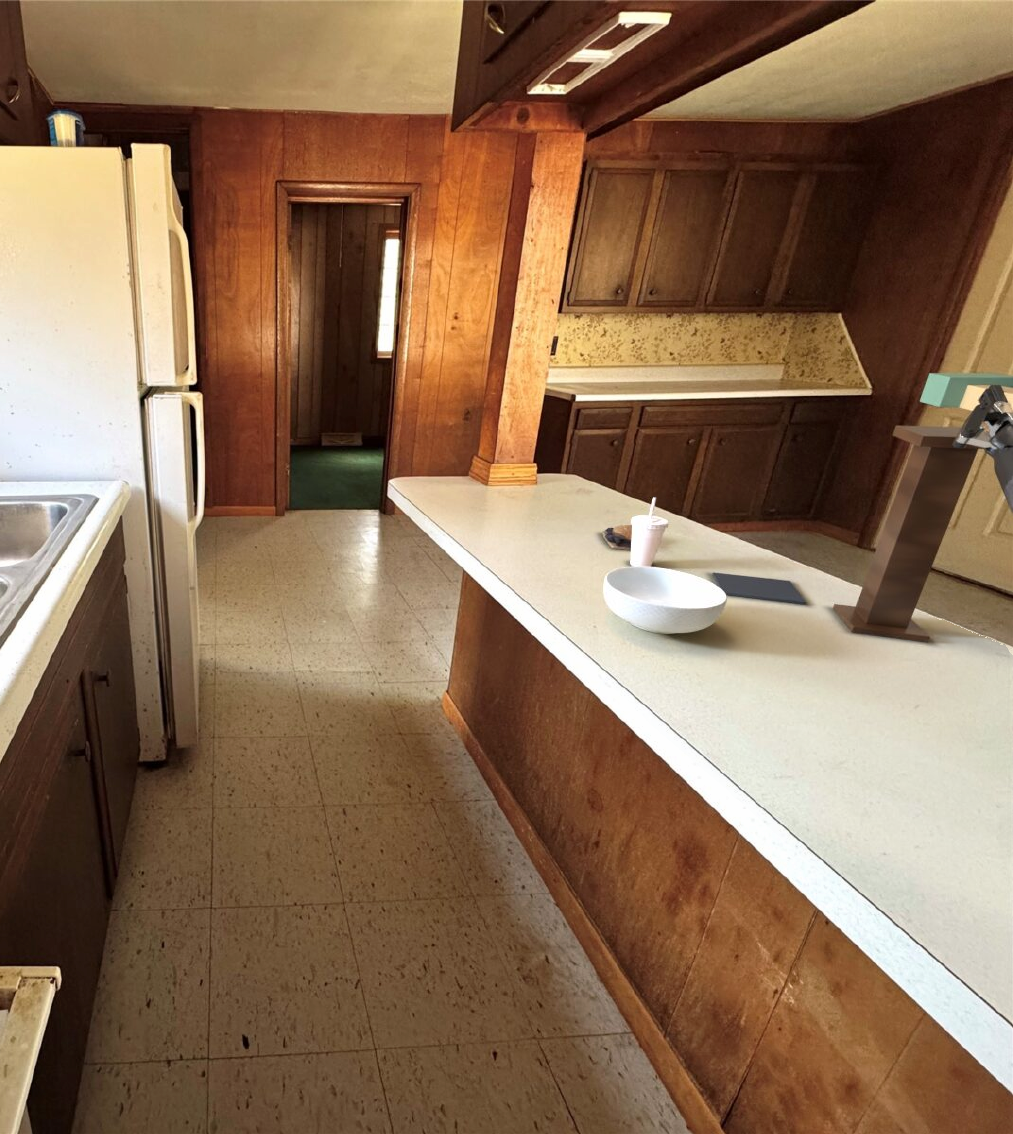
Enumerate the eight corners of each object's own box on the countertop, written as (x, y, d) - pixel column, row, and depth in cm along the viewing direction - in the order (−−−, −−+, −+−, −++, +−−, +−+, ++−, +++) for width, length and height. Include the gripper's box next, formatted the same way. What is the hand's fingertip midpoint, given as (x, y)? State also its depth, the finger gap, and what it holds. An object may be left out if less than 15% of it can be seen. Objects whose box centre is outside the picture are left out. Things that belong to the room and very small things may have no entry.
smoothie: (659, 562, 128) (674, 496, 123) (658, 573, 123) (673, 504, 118) (623, 557, 131) (636, 492, 126) (621, 567, 126) (634, 500, 121)
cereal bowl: (627, 648, 96) (636, 607, 94) (581, 602, 112) (587, 566, 109) (741, 647, 95) (753, 606, 93) (678, 601, 111) (687, 564, 108)
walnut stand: (902, 617, 102) (977, 427, 91) (928, 642, 95) (1013, 438, 83) (832, 609, 106) (895, 425, 95) (851, 632, 99) (923, 435, 87)
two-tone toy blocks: (985, 402, 88) (996, 373, 87) (1068, 422, 73) (1084, 387, 72) (919, 401, 91) (929, 373, 90) (986, 420, 76) (999, 386, 75)
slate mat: (789, 583, 116) (790, 580, 116) (805, 604, 108) (806, 602, 108) (712, 574, 121) (712, 572, 121) (722, 594, 113) (722, 592, 113)
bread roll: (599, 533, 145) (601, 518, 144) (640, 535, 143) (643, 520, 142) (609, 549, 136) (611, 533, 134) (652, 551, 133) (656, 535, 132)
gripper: (950, 504, 75) (919, 413, 84) (1123, 515, 69) (1069, 416, 78) (989, 457, 69) (951, 364, 78) (1181, 465, 63) (1116, 364, 72)
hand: (1011, 391), depth 78 cm, fingers closed on two-tone toy blocks, 3 cm apart
